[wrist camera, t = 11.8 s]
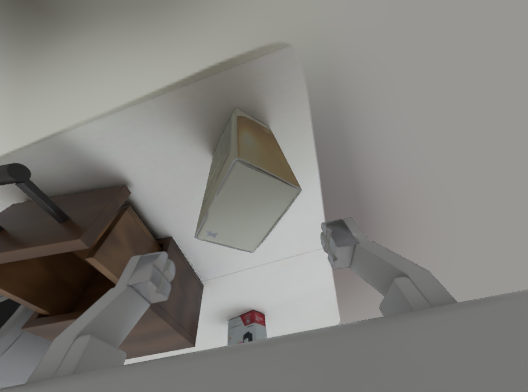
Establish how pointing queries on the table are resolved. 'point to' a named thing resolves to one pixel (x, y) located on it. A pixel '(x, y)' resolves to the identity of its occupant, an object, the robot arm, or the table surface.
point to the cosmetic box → (246, 186)
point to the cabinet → (147, 314)
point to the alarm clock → (18, 344)
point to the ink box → (247, 328)
